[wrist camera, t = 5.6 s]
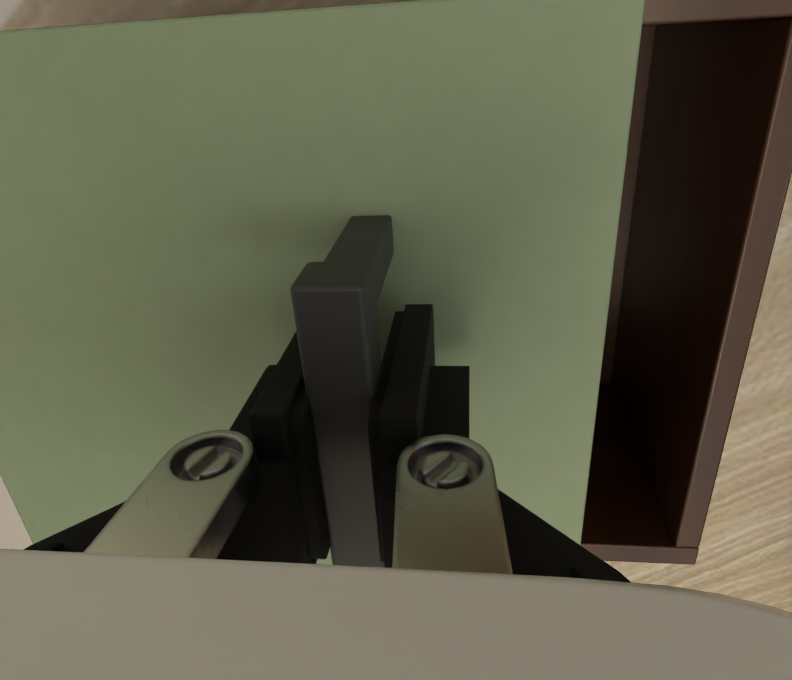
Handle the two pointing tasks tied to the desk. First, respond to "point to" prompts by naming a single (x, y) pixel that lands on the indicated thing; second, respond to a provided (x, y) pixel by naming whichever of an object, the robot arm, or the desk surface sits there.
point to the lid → (307, 236)
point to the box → (687, 267)
